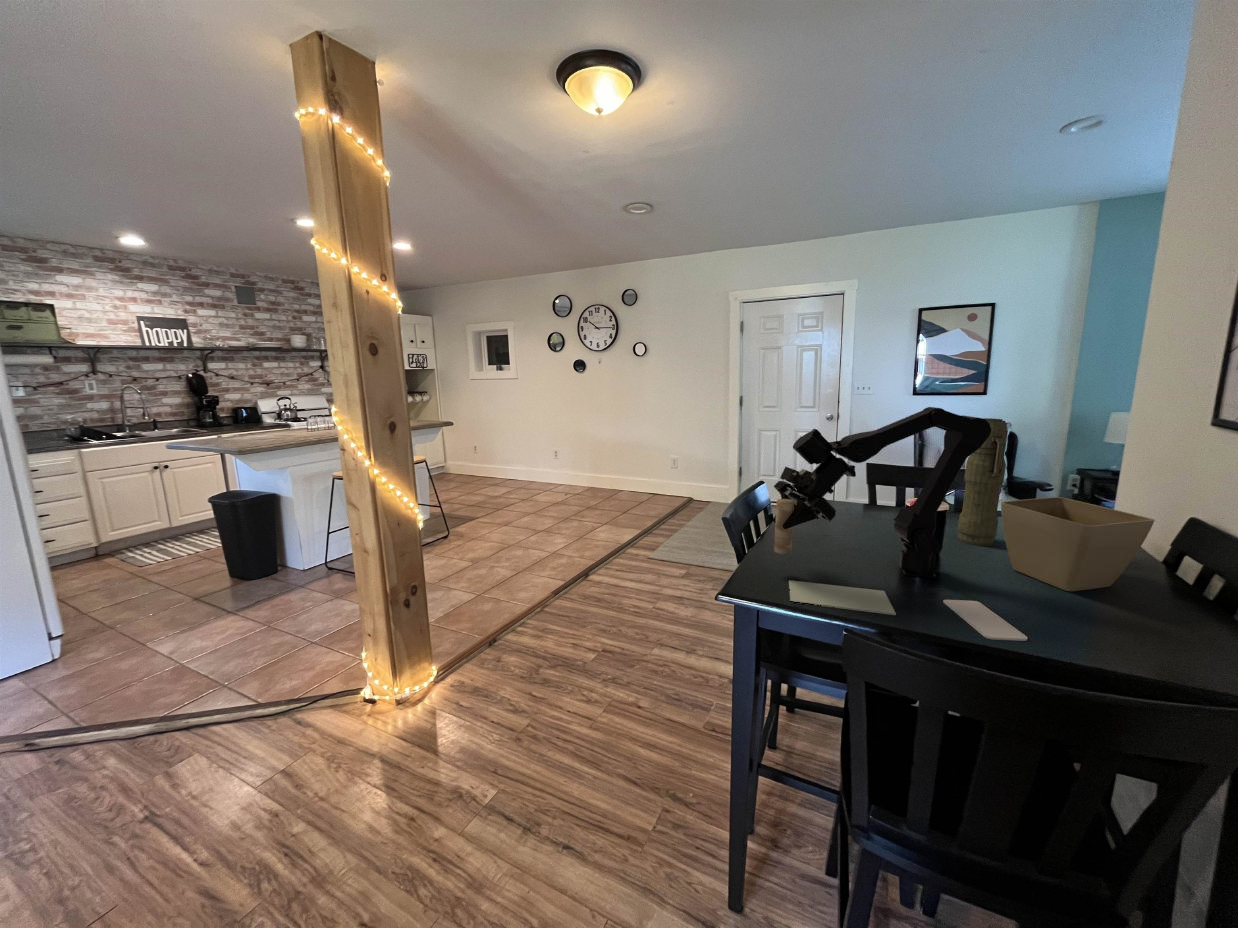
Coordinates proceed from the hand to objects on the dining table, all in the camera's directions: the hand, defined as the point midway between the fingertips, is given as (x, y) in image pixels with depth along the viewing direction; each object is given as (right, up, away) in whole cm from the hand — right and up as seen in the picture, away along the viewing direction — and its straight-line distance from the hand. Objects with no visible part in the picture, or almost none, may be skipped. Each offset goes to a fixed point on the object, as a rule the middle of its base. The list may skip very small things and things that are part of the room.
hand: (778, 525), depth 114 cm
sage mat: (+10, -14, -10) cm, 20 cm away
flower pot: (+66, -12, -2) cm, 67 cm away
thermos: (+64, -8, +23) cm, 69 cm away
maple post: (+1, -6, +1) cm, 7 cm away
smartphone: (+34, -17, -20) cm, 42 cm away
